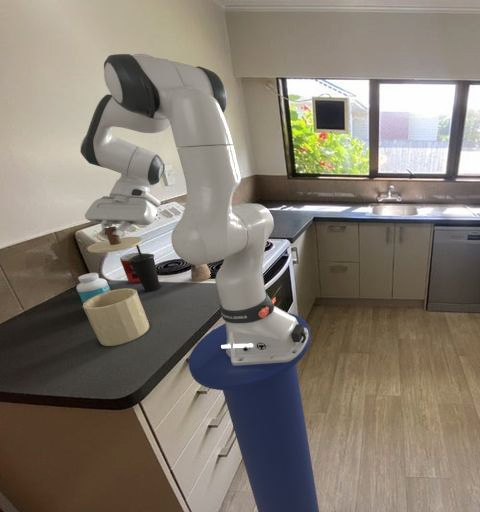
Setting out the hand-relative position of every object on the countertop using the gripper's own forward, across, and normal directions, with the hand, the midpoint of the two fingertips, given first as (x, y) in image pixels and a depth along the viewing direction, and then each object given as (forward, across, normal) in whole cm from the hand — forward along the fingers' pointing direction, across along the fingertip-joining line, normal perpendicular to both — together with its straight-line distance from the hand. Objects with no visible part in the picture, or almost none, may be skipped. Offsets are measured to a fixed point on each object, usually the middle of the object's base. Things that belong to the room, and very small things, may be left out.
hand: (110, 235), depth 87 cm
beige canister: (+27, +5, +13) cm, 30 cm away
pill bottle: (+19, -15, +21) cm, 32 cm away
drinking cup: (+8, -11, +32) cm, 35 cm away
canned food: (+3, -23, +37) cm, 44 cm away
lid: (+2, 0, +3) cm, 3 cm away
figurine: (0, +2, +40) cm, 40 cm away
